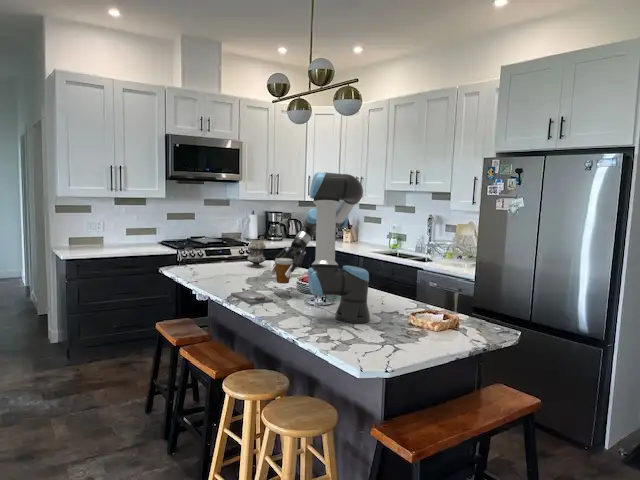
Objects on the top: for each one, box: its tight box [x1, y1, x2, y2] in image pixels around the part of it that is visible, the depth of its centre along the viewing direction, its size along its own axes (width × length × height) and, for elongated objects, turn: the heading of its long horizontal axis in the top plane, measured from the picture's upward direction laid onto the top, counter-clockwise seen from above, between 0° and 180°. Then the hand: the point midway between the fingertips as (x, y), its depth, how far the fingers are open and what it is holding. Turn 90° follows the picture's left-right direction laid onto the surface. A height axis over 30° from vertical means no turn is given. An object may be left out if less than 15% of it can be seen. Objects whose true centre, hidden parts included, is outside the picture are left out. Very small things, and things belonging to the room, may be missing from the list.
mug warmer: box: [230, 290, 275, 306], centre depth 239 cm, size 20×13×3 cm, turn 37°
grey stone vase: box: [247, 239, 267, 269], centre depth 326 cm, size 12×12×18 cm
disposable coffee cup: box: [274, 257, 294, 285], centre depth 246 cm, size 10×10×12 cm
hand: (279, 274), depth 244 cm, fingers closed on disposable coffee cup, 9 cm apart
